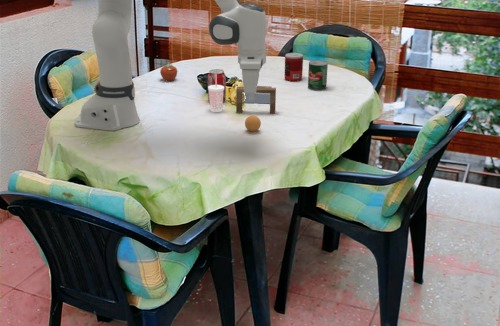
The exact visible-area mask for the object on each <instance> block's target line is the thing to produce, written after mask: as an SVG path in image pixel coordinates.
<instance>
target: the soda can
mask: <svg viewBox="0 0 500 326" xmlns="http://www.w3.org/2000/svg"><path fill="white" fill-rule="evenodd" d="M215 74H217V85H222V86H224V90H223V102H224V101H226V97H227V80H226V79H227V76H226V73H225V71H224V70H223V69H211V70H209V72H208V74H207V87H208V86H211V85H215ZM207 98H208V101H210V99H209V90H208V89H207Z"/></svg>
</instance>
